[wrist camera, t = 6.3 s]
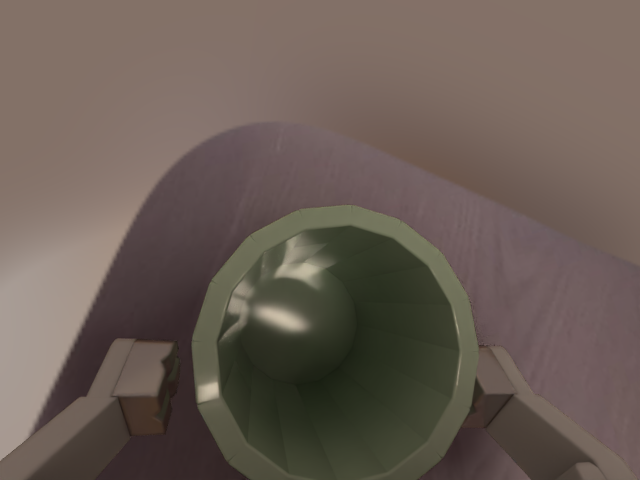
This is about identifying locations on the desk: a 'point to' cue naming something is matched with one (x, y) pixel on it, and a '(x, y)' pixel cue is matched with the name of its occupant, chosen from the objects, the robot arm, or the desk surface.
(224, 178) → the desk surface
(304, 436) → the tumbler
